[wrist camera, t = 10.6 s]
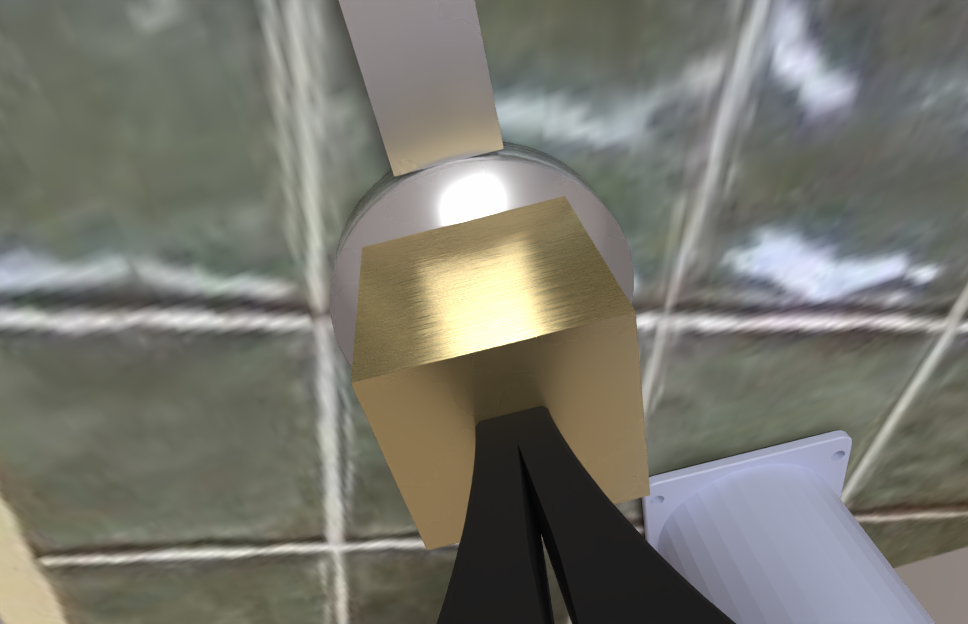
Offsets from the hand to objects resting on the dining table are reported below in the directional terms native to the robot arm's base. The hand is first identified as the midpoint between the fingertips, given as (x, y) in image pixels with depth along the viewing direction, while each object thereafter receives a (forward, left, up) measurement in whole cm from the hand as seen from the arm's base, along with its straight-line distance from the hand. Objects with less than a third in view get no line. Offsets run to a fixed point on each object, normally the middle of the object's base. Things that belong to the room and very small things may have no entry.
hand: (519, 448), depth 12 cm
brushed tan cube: (0, 0, -5) cm, 5 cm away
